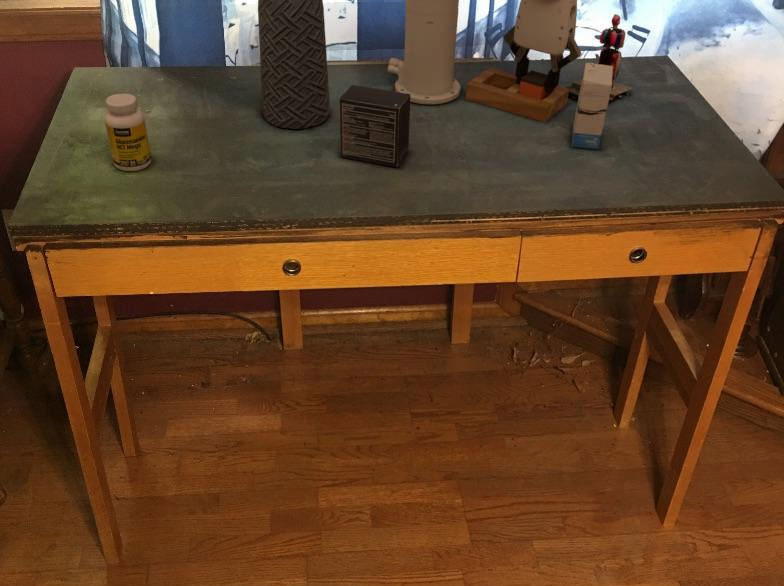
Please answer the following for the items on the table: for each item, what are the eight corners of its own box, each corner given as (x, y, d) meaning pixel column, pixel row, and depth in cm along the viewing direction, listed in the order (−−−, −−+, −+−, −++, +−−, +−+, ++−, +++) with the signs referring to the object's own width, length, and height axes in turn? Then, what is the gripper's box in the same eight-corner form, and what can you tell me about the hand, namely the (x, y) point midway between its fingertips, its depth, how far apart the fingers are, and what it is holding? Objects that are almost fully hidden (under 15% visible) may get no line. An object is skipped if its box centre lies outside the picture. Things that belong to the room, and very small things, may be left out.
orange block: (516, 109, 161) (520, 78, 157) (527, 101, 164) (531, 70, 160) (537, 115, 159) (542, 84, 155) (548, 107, 162) (553, 76, 158)
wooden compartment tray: (545, 122, 157) (547, 106, 155) (465, 99, 163) (466, 83, 161) (566, 104, 162) (569, 88, 160) (488, 82, 169) (490, 67, 167)
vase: (251, 122, 154) (235, -48, 135) (282, 96, 162) (271, -68, 143) (312, 135, 151) (305, -37, 132) (340, 108, 159) (337, -58, 140)
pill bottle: (119, 175, 140) (105, 110, 132) (109, 159, 144) (95, 95, 136) (156, 167, 142) (145, 103, 134) (146, 151, 146) (134, 88, 138)
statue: (589, 85, 172) (608, 5, 163) (629, 98, 167) (651, 17, 158) (558, 94, 165) (576, 11, 156) (599, 109, 160) (620, 24, 151)
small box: (410, 151, 148) (412, 92, 140) (398, 169, 143) (400, 108, 136) (352, 141, 150) (352, 82, 143) (339, 157, 145) (338, 98, 138)
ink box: (599, 150, 149) (613, 84, 141) (570, 147, 150) (582, 81, 142) (600, 128, 155) (613, 64, 147) (572, 125, 156) (584, 61, 148)
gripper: (606, -14, 145) (586, 91, 158) (516, -34, 152) (504, 68, 164) (588, -1, 141) (569, 105, 153) (496, -23, 147) (485, 81, 160)
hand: (535, 85), depth 159 cm, fingers open, 5 cm apart
